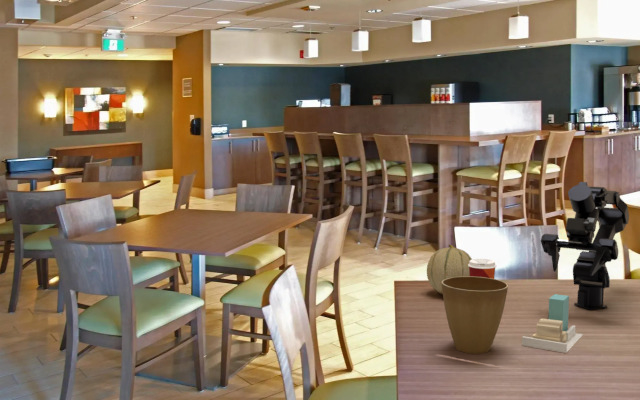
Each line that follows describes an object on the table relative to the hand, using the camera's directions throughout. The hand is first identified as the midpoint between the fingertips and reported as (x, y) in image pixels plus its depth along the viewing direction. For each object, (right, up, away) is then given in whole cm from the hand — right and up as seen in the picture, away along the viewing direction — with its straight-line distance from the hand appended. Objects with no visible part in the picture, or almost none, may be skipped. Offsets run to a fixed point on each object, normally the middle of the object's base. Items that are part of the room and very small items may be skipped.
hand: (572, 272), depth 180 cm
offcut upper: (-11, -13, -16) cm, 23 cm away
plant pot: (-29, -16, -18) cm, 38 cm away
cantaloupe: (-25, -10, +33) cm, 43 cm away
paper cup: (-20, -12, +16) cm, 28 cm away
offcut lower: (-11, -15, -15) cm, 24 cm away
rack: (-9, -15, -13) cm, 22 cm away
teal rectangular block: (-7, -14, -9) cm, 18 cm away
